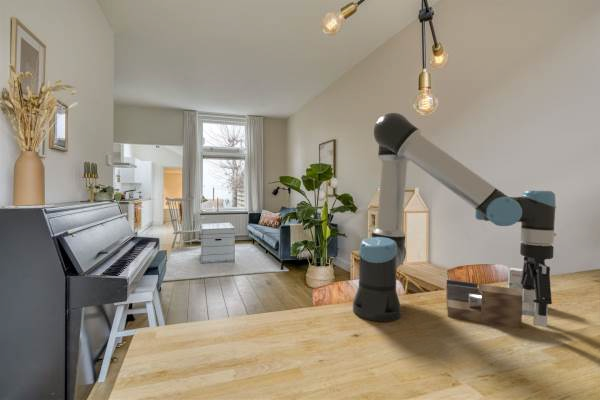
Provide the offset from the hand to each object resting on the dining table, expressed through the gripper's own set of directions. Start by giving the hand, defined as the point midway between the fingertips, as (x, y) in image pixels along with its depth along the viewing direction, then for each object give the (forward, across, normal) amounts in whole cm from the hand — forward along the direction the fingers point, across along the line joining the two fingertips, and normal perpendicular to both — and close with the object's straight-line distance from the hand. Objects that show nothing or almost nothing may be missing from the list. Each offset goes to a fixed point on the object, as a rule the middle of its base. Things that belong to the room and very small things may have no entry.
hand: (533, 317), depth 86 cm
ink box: (+3, +21, -2) cm, 21 cm away
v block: (+2, +14, +17) cm, 22 cm away
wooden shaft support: (+2, 0, +13) cm, 13 cm away
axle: (-1, 0, +8) cm, 8 cm away
